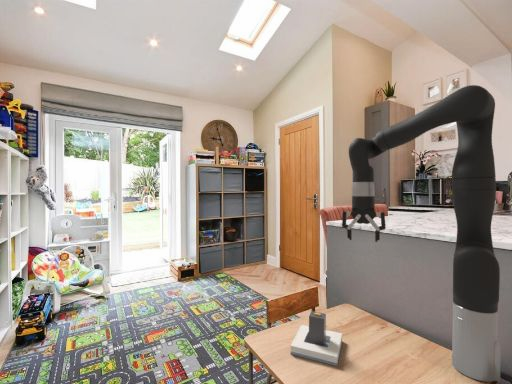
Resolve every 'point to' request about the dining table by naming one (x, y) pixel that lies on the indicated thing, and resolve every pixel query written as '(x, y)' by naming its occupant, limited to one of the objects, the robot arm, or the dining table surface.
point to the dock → (317, 346)
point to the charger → (317, 328)
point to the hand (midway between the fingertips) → (363, 240)
